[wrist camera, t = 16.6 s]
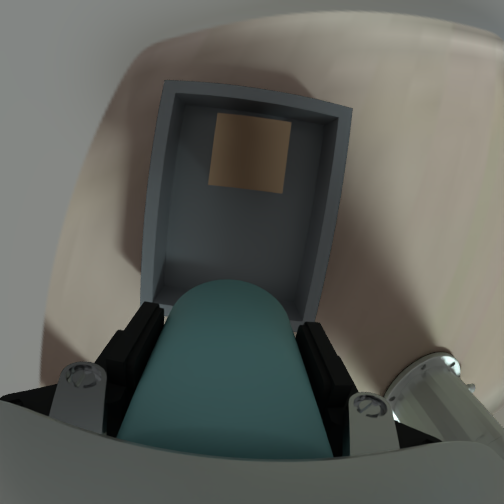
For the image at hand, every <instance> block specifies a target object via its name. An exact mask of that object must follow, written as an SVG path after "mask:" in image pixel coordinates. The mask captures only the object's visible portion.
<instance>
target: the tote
mask: <svg viewBox="0 0 504 504" xmlns="http://www.w3.org/2000/svg"><path fill="white" fill-rule="evenodd" d="M352 110H353V108H349V107H346V106H342V105H338V104H334V103H330V102H326V101H322V100H317V99H313V98H308V97H304V96H299V95H294V94H289V93H283V92H278V91H272V90H266V89H259V88H252V87H245V86H237V85H229V84H219V83H208V82H195V81H176V80H165V82H164V86H163V91H162V96H161V101H160V106H159V112H158V117H157V123H156V129H155V135H154V141H153V148H152V154H151V162H150V169H149V177H148V186H147V195H146V205H145V216H144V228H143V243H142V262H141V293H140V307H141V305H142V304H143V303H144V301H146V302H152V303H158V304H159V306H160V308H164V316H169V313H170V311H171V310H172V308H173V306H174V305H175V303H176V302H177V300H178V299H179V298H180V297H181V296H182V295H184V294H185V293H186V292H187V291H189V290H190V289H192V288H194V287H196V286H198V285H200V284H203V283H206V282H210V281H214V280H224V279H231V280H240V281H244V282H248V283H251V284H254V285H256V286H258V287H260V288H262V289H264V290H266V291H267V292H268V293H270V294H271V295H272V296H274V297H275V298H276V299H277V300H278V301H279V303H280V304H281V305H282V306H283V308H284V310H285V311H286V313H287V316H288V318H289V321H290V324H291V327H292V330H293V332H297V330H298V327H299V325H303V324H304V322H315V318H316V314H317V310H318V306H319V301H320V297H321V293H322V288H323V284H324V280H325V275H326V270H327V266H328V261H329V256H330V251H331V246H332V241H333V236H334V231H335V226H336V220H337V215H338V209H339V203H340V197H341V191H342V185H343V179H344V172H345V165H346V158H347V151H348V143H349V136H350V127H351V119H352ZM218 113H225V114H235V115H244V116H252V117H260V118H267V119H274V120H280V121H287V122H291V130H290V138H289V146H288V154H287V162H286V169H285V177H284V184H283V192H282V194H281V193H273V192H266V191H258V190H250V189H242V188H233V187H224V186H215V185H208V182H209V173H210V165H211V157H212V149H213V142H214V135H215V128H216V121H217V114H218Z"/></svg>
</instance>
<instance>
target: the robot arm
mask: <svg viewBox="0 0 504 504" xmlns="http://www.w3.org/2000/svg"><path fill="white" fill-rule="evenodd" d="M163 326H164V308H160V306H159V304H158V303H152V302H146V301H144V303H143V304H142V305H141V307H140V308H139V310H138V311H137V312H136V314H135V315H134V317H133V318H132V320H131V321H130V322H129V324H128V325H127V327H126V328H125V330H124V331H123V330H118V331H117V332H116V333H115V334H114V336H113V337H112V339H111V340H110V341H109V343H108V344H107V346H106V347H105V348H104V350H103V351H102V353H101V354H100V356H99V357H98V358H97V360H96V361H95V363H91V362H76V363H72V364H70V365H68V366H67V367H65V368H64V369H63V371H62V372H61V375H60V378H59V381H58V384H55V385H50V386H46V387H41V388H37V389H32V390H28V391H22V392H17V393H12V394H8V395H5V396H2V397H1V398H0V504H504V428H503V427H502V426H501V424H500V423H499V422H498V421H497V420H496V419H495V418H494V417H493V415H492V414H491V413H490V412H489V411H488V410H487V409H486V408H485V407H484V405H483V404H482V403H481V402H480V401H479V400H478V399H477V398H476V397H475V396H474V395H473V394H472V392H474V391H475V385H474V384H473V383H472V384H467V385H466V384H465V383H464V382H463V381H462V380H461V379H460V378H459V377H460V365H459V363H458V361H457V360H456V359H455V358H454V357H453V356H452V355H450V354H449V353H444V352H438V353H433V354H429V355H427V356H425V357H422V358H421V359H419V360H417V361H415V362H414V363H412V364H411V365H410V366H408V367H407V368H406V369H405V370H404V371H403V372H402V373H400V374H399V375H398V377H397V378H396V379H395V380H394V381H393V382H392V384H391V385H390V387H389V388H388V390H387V392H386V393H385V395H384V398H383V397H382V396H380V395H377V394H375V393H370V392H358V390H357V388H356V386H355V384H354V382H353V380H352V379H351V377H350V375H349V373H348V371H347V369H346V367H345V365H344V364H343V362H342V360H341V358H340V357H339V356H338V355H337V354H336V352H335V350H334V348H333V346H332V344H331V343H330V341H329V339H328V337H327V335H326V333H325V331H324V330H323V328H322V326H321V324H320V323H318V322H304V324H303V325H299V327H298V330H297V334H296V342H297V345H298V348H299V351H300V354H301V357H302V360H303V363H304V366H305V369H306V372H307V375H308V378H309V381H310V385H311V388H312V391H313V394H314V397H315V400H316V403H317V406H318V409H319V413H320V416H321V419H322V422H323V425H324V428H325V431H326V435H327V438H328V441H329V444H330V447H331V450H332V454H333V457H332V458H316V459H249V458H233V457H221V456H211V455H203V454H195V453H188V452H181V451H175V450H169V449H163V448H158V447H153V446H148V445H143V444H139V443H134V442H130V441H126V440H122V439H118V438H116V437H117V435H118V432H119V430H120V427H121V424H122V422H123V420H124V417H125V415H126V412H127V410H128V407H129V405H130V402H131V400H132V397H133V395H134V393H135V390H136V388H137V386H138V383H139V381H140V379H141V376H142V374H143V372H144V369H145V367H146V365H147V362H148V360H149V358H150V355H151V353H152V351H153V349H154V346H155V344H156V342H157V340H158V338H159V335H160V333H161V331H162V329H163Z"/></svg>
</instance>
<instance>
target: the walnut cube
mask: <svg viewBox="0 0 504 504" xmlns="http://www.w3.org/2000/svg"><path fill="white" fill-rule="evenodd" d="M290 130H291V122H287V121H280V120H274V119H267V118H260V117H252V116H244V115H235V114H225V113H218V114H217V121H216V128H215V135H214V142H213V149H212V157H211V165H210V173H209V182H208V185H215V186H224V187H233V188H242V189H250V190H258V191H266V192H273V193H281V194H282V192H283V184H284V177H285V169H286V162H287V154H288V146H289V138H290Z"/></svg>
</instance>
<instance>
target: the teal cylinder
mask: <svg viewBox="0 0 504 504" xmlns="http://www.w3.org/2000/svg"><path fill="white" fill-rule="evenodd" d="M116 438H118V439H122V440H126V441H130V442H134V443H139V444H143V445H148V446H153V447H158V448H163V449H169V450H175V451H181V452H188V453H195V454H203V455H211V456H221V457H233V458H249V459H316V458H332V457H333V454H332V450H331V447H330V444H329V441H328V438H327V435H326V431H325V428H324V425H323V422H322V419H321V416H320V413H319V409H318V406H317V403H316V400H315V397H314V394H313V391H312V388H311V385H310V381H309V378H308V375H307V372H306V369H305V366H304V363H303V360H302V357H301V354H300V351H299V348H298V345H297V342H296V339H295V336H294V333H293V330H292V327H291V324H290V321H289V318H288V316H287V313H286V311H285V310H284V308H283V306H282V305H281V304H280V303H279V301H278V300H277V299H276V298H275V297H274V296H272V295H271V294H270V293H268V292H267V291H266V290H264V289H262V288H260V287H258V286H256V285H254V284H251V283H248V282H244V281H240V280H231V279H224V280H214V281H210V282H206V283H203V284H200V285H198V286H196V287H194V288H192V289H190V290H189V291H187V292H186V293H185V294H184V295H182V296H181V297H180V298H179V299H178V300H177V302H176V303H175V305H174V306H173V308H172V310H171V311H170V313H169V316H168V318H167V320H166V322H165V324H164V326H163V329H162V331H161V333H160V335H159V338H158V340H157V342H156V344H155V346H154V349H153V351H152V353H151V355H150V358H149V360H148V362H147V365H146V367H145V369H144V372H143V374H142V376H141V379H140V381H139V383H138V386H137V388H136V390H135V393H134V395H133V397H132V400H131V402H130V405H129V407H128V410H127V412H126V415H125V417H124V420H123V422H122V424H121V427H120V430H119V432H118V435H117V437H116Z"/></svg>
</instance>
